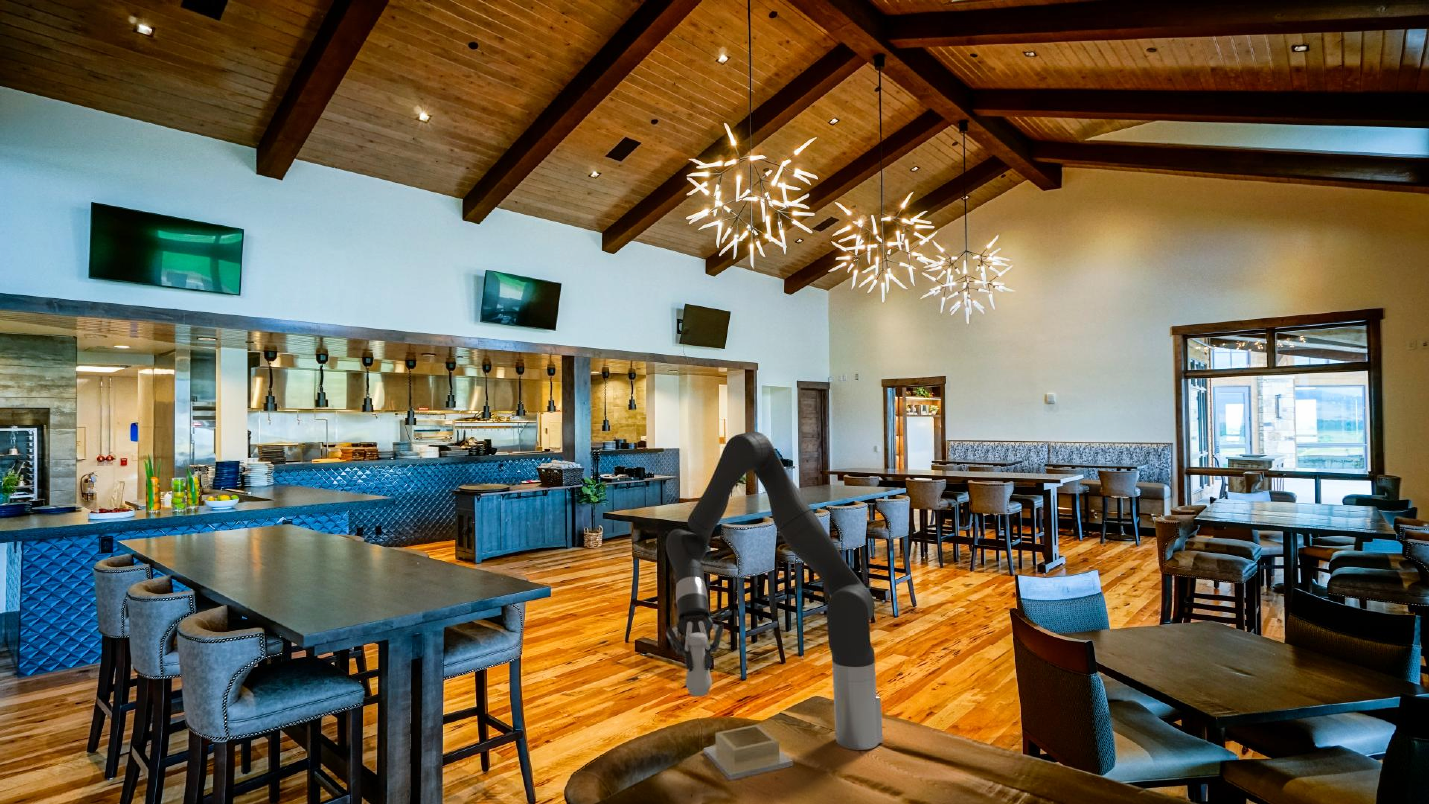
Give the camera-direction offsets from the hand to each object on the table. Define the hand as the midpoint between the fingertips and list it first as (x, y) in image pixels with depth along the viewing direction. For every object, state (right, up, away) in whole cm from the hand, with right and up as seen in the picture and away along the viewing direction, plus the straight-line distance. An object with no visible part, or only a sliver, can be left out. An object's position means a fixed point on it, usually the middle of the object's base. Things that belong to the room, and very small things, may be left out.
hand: (699, 668), depth 153 cm
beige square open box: (+10, -16, -8) cm, 20 cm away
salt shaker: (0, -6, +2) cm, 6 cm away
